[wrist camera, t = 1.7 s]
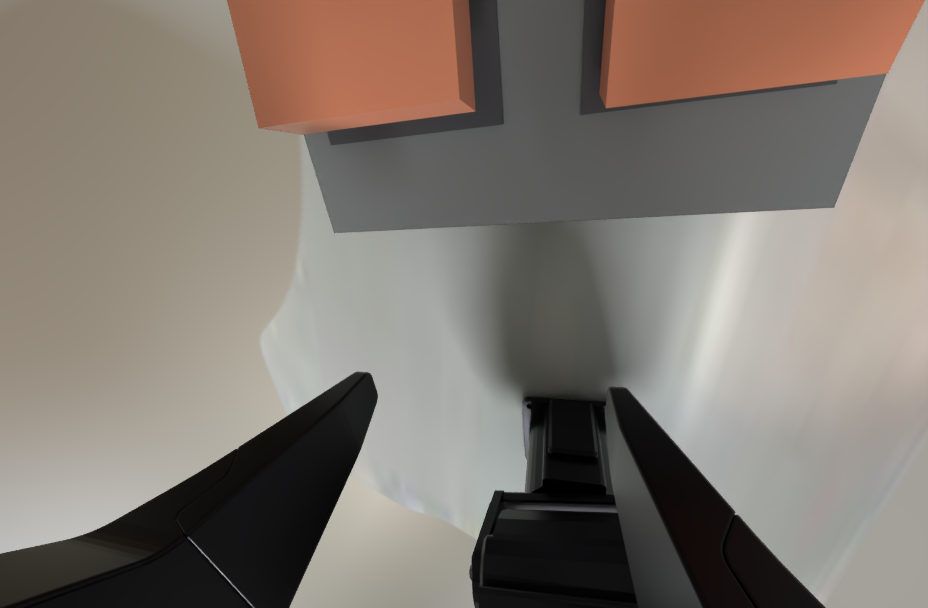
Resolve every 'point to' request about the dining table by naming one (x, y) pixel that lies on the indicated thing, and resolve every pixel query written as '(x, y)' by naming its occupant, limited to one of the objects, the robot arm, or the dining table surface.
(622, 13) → the block
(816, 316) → the dining table surface
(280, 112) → the block
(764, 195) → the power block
